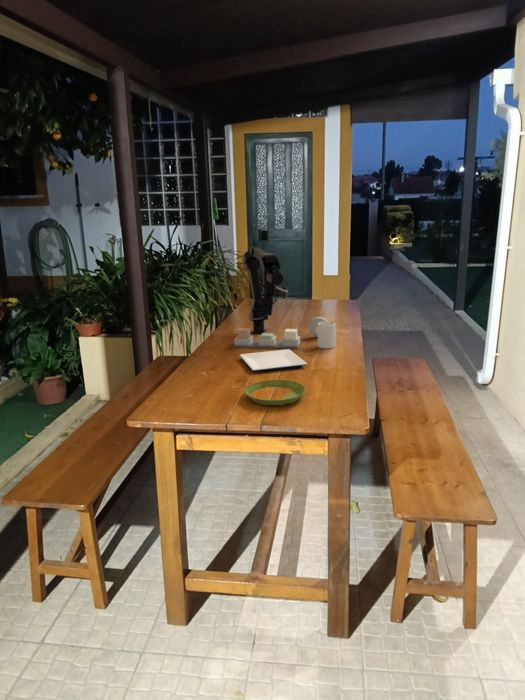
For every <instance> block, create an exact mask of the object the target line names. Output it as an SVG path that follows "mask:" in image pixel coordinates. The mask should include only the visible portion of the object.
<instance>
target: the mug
mask: <svg viewBox="0 0 525 700" xmlns="http://www.w3.org/2000/svg"><path fill="white" fill-rule="evenodd" d="M317 330H318V337H317V347H318V348H321V349H332V348H333V349H334V348H335V347H336V322H334V321H328V320H327V321H326V322H319V323H318V324H317Z"/></svg>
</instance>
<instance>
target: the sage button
mask: <svg viewBox="0 0 525 700" xmlns="http://www.w3.org/2000/svg"><path fill="white" fill-rule="evenodd" d="M274 334H275V333H274V332H265V333H261V334H260V336H261V339H273V337H274Z"/></svg>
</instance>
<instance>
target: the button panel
mask: <svg viewBox="0 0 525 700" xmlns="http://www.w3.org/2000/svg"><path fill="white" fill-rule="evenodd" d="M300 345H301V336H300V335H297V339H296V340H294V339H285V335H284V336H283V338H282V339H281V340H277V335H274V337H273V339H261V335H260V336H259V337H258V339H256V340H254V335H253V334H250V337H249V338H248V339H246V338H237V336H235V338H234V345H233V348H234V347H236V348H237V347H238V349H239V348H240V349H241V348H242V349H243V348H244V349H271V348H276V349H277V348H280V349H279V350H286V349H290V350H298V349H299V347H300ZM282 348H283V349H282ZM277 350H278V349H277Z"/></svg>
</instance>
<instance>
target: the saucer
mask: <svg viewBox="0 0 525 700" xmlns="http://www.w3.org/2000/svg"><path fill="white" fill-rule="evenodd" d="M266 387H281V388H287V389H291V390H292V391H293V392H291V393H288V394H287V393H286V394H285V396H284V397H282V399H281V400H264V399H258V398H254V397H251V395H252V394H253V392H254V391H256V390H258V389H261V388H266ZM305 392H306V386H304V385H303V384H302V383H300V382H297V381H294V380H287V379H270V380H269V379H268V380H262V381H257V382H254V383H251V384H249V385H248V386H247V387H246V388H244V393H245V395H246V396H247V398H249V399H250V400H251V401H252V402H254V403H255V402H256V403H255V404H258V403H259V404H258V405H261V404H265V405H264V406H267V405H280V406H286V405H285V404H287V405H290V404H293V403H295V402H297V401H298V400H299V399H300V398H301V399H302V397H303V396H304V394H305ZM290 394H291V395H290ZM287 395H288V396H287ZM282 396H283V395H282ZM289 403H290V404H289Z"/></svg>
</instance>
